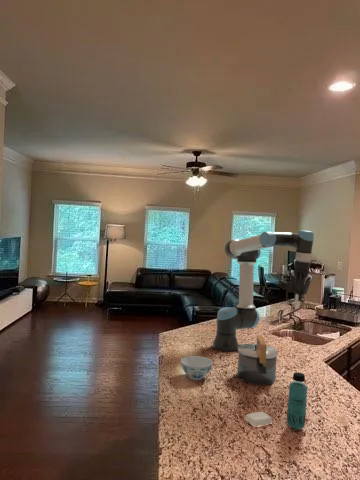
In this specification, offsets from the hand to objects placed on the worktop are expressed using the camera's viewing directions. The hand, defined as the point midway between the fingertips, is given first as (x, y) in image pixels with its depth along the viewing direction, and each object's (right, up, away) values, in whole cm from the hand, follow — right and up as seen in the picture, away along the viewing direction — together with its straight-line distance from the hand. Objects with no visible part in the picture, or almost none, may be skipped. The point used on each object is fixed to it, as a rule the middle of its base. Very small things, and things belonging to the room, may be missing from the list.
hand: (296, 306), depth 194 cm
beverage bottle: (-18, -34, -57) cm, 69 cm away
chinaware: (-52, -31, -14) cm, 62 cm away
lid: (-22, -20, -15) cm, 34 cm away
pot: (-23, -32, -13) cm, 42 cm away
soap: (-31, -34, -53) cm, 70 cm away
